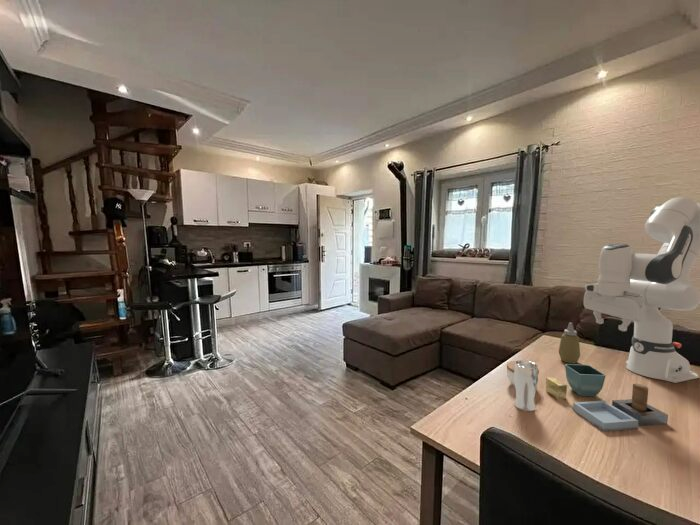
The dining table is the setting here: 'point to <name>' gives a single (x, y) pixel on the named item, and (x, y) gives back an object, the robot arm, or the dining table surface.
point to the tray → (605, 415)
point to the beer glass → (525, 384)
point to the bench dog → (556, 388)
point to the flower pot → (584, 379)
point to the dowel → (639, 397)
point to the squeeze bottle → (569, 345)
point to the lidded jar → (512, 371)
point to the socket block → (642, 413)
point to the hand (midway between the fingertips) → (610, 326)
